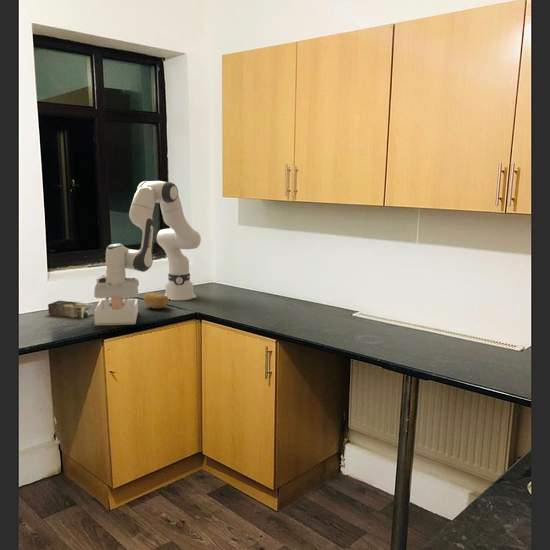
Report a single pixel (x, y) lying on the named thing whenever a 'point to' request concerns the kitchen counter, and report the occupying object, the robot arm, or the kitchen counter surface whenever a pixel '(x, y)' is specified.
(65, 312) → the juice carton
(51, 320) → the kitchen counter surface
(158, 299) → the potato
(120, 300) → the wooden block
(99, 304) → the bin
